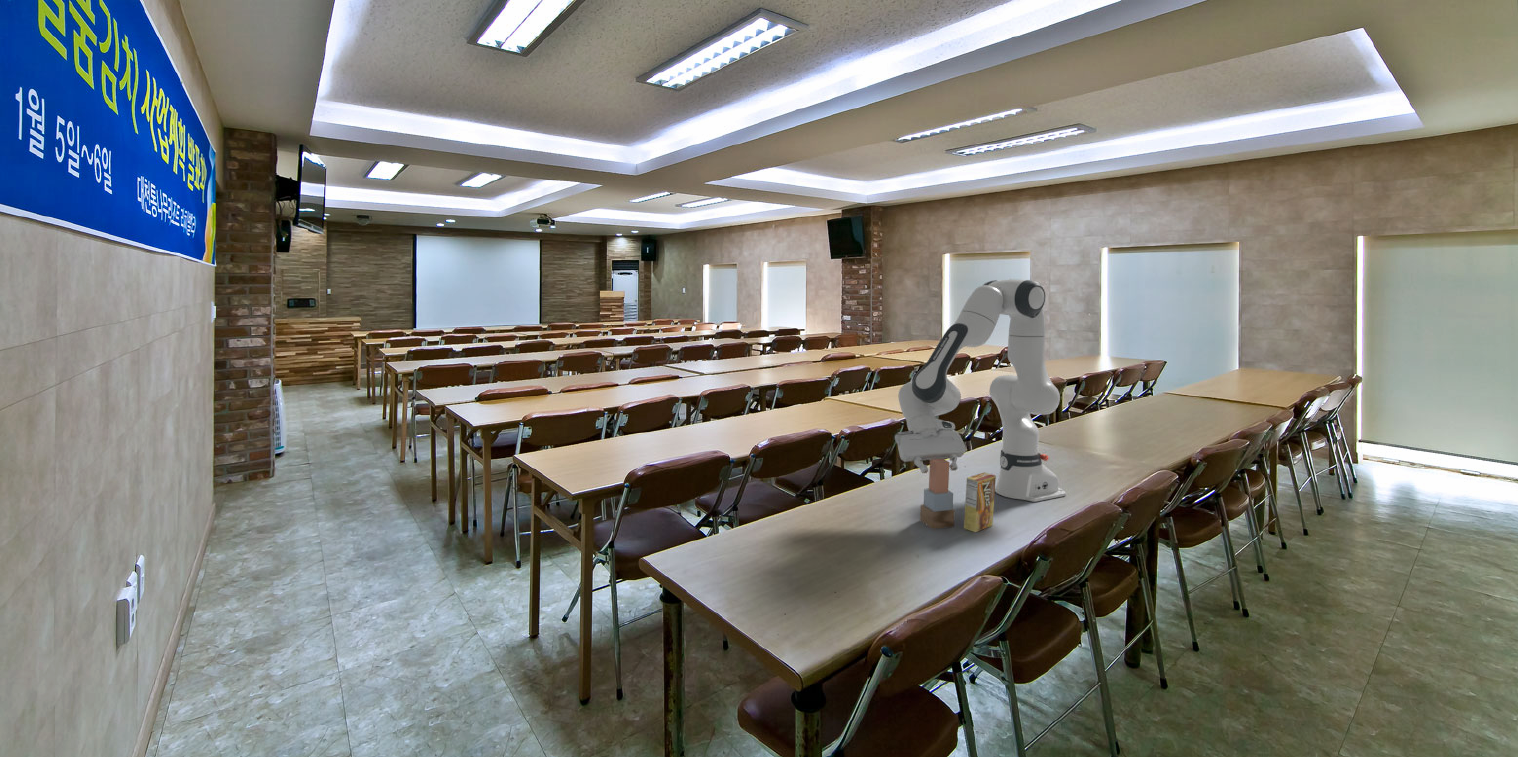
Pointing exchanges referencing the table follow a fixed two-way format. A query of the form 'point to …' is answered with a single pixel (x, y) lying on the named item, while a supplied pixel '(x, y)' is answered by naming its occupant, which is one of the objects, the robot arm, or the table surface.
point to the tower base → (937, 518)
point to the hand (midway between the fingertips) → (940, 470)
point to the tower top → (938, 500)
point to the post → (939, 475)
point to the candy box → (979, 502)
